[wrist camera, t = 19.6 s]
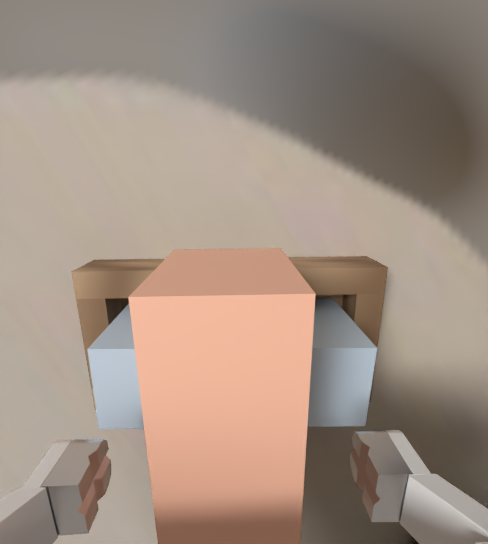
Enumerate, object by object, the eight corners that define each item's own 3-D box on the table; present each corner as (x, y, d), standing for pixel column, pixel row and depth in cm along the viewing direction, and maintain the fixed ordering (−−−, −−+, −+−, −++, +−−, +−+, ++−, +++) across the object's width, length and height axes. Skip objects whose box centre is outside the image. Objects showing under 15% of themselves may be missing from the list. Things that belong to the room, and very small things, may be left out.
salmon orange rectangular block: (174, 249, 11) (128, 296, 6) (280, 248, 11) (315, 293, 6) (191, 493, 14) (170, 647, 10) (274, 490, 14) (294, 640, 10)
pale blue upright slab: (140, 356, 19) (98, 429, 13) (134, 297, 18) (87, 349, 12) (326, 355, 19) (365, 426, 14) (332, 297, 18) (377, 348, 13)
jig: (112, 382, 20) (95, 409, 18) (94, 259, 18) (71, 271, 15) (353, 376, 21) (370, 402, 18) (366, 256, 18) (387, 267, 16)
